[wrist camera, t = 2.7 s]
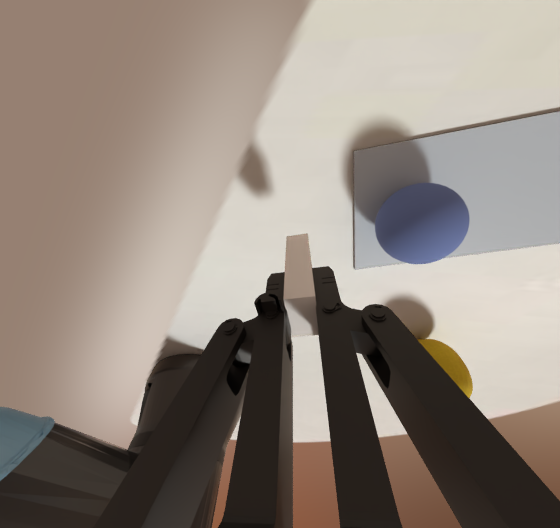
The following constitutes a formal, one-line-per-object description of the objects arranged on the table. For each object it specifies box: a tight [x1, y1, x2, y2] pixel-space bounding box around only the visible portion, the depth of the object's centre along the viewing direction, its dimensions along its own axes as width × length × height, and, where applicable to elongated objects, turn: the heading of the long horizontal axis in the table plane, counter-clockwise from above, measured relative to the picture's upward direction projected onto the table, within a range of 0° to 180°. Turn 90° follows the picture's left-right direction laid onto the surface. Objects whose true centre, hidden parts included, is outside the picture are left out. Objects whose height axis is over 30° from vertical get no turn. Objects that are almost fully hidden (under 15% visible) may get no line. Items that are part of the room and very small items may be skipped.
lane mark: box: [354, 111, 560, 270], centre depth 18 cm, size 29×11×1 cm, turn 101°
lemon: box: [418, 339, 473, 398], centre depth 25 cm, size 6×6×8 cm
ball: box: [375, 183, 470, 264], centre depth 17 cm, size 6×6×6 cm
